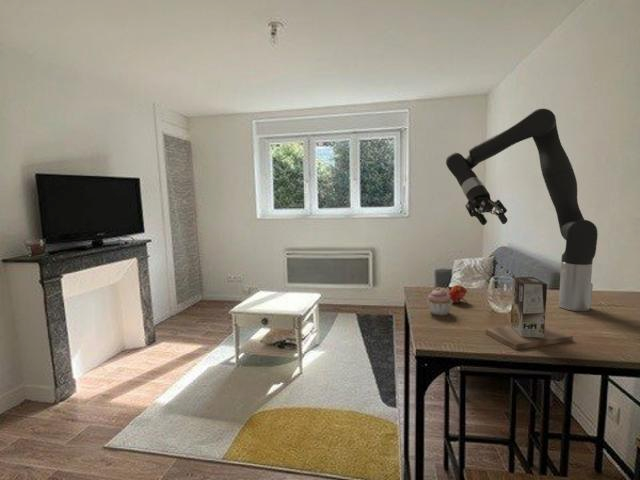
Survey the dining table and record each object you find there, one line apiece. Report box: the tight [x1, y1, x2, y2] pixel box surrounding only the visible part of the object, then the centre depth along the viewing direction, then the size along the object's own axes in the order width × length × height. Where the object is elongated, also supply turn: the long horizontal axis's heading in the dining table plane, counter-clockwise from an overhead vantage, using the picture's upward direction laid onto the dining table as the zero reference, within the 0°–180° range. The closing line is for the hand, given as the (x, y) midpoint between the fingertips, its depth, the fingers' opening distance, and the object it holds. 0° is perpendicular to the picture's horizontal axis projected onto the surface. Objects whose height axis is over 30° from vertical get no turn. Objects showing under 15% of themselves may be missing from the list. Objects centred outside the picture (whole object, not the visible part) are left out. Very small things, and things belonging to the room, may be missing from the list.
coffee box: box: [510, 276, 548, 338], centre depth 105 cm, size 9×6×16 cm
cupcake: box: [426, 286, 454, 317], centre depth 128 cm, size 9×9×10 cm
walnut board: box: [485, 324, 574, 351], centre depth 106 cm, size 20×12×2 cm, turn 104°
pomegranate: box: [446, 284, 468, 304], centre depth 140 cm, size 7×7×10 cm
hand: (495, 223), depth 126 cm, fingers open, 8 cm apart
